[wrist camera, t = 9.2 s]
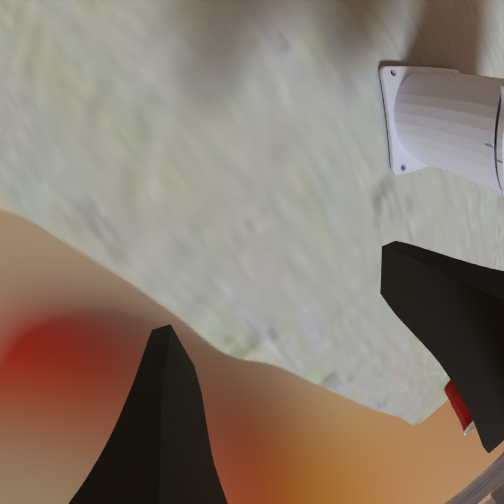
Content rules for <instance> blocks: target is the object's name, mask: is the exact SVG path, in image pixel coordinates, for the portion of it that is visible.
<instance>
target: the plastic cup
mask: <svg viewBox="0 0 504 504" xmlns="http://www.w3.org/2000/svg"><path fill="white" fill-rule="evenodd" d="M444 390H445V393H446V395H447V397H448V398H449V400H450V402H451V405H452V407H453V409H454V410H455V412H456V414H457V416H458V418H459V420H460V422H461V425H462V428H463V431H464V436H465V435H468V434H469V433H471V432H472V431H474V430H475V429H476V426H475V424H474V422H473V419H472V417H471V415H470V413H469V411H468V409H467V407H466V405H465V403H464V401H463V399H462V397H461V396H460V394H459V392H458V391H457V389H456V387H455V386H454V384H453V382H452V381H451V380H450V381H449V383H448V384H447V385H446V387H445V389H444Z"/></svg>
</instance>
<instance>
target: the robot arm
mask: <svg viewBox="0 0 504 504" xmlns="http://www.w3.org/2000/svg"><path fill="white" fill-rule="evenodd" d="M391 71H392V75H391ZM379 72H380V79H381V85H382V91H383V97H384V104H385V112H386V120H387V129H388V139H389V151H390V164H391V172H392V173H393V174H395V175H401V174H404V173H408V172H412V171H415V170H419V169H423V168H426V167H430V166H432V167H435V168H437V169H440V170H443V171H445V172H448V173H451V174H453V175H456V176H458V177H461V178H463V179H466V180H468V181H470V182H473V183H475V184H477V185H480V186H482V187H484V188H486V189H489V190H491V191H493V192H495V193H497V194H499V195H502V196H504V79H502V78H496V77H488V76H480V75H471V74H460V72H459V71H458V70H455V69H445V68H433V67H416V66H382V67H381V68H380V70H379ZM402 165H403V166H402ZM401 166H402V169H401ZM380 293H381V295H382V296H383V298H384V299H385V300H386V302H387V303H388V305H389V306H390V307H391V309H392V310H393V312H394V313H395V314H396V315H397V316H398V318H399V319H400V320H401V321H402V322H403V323H404V324H405V325H406V326H407V327H408V328H409V329H410V330H411V332H412V333H413V334H414V335H415V336H416V337H417V338H418V339H419V340H420V341H421V342H422V343H423V344H424V346H425V347H426V348H427V349H428V350H429V351H430V352H431V353H432V354H433V356H434V357H435V358H436V359H437V360H438V362H439V363H440V364H441V366H442V367H443V369H444V370H445V372H446V373H447V375H448V376H449V378H450V379H451V381H452V382H453V384H454V386H455V387H456V389H457V391H458V392H459V394H460V396H461V397H462V399H463V401H464V403H465V405H466V407H467V409H468V411H469V413H470V415H471V417H472V419H473V422H474V424H475V426H476V429H477V431H478V434H479V436H480V439H481V442H482V445H483V447H484V448H485V450H486V451H487V452H488V453H490V452H491V451H492V450H493V449H494V448H496V447H497V446H498V445H499V444H500V443H501V442H502V441H503V440H504V271H500V270H495V269H491V268H487V267H483V266H479V265H476V264H472V263H469V262H465V261H462V260H458V259H455V258H452V257H449V256H446V255H443V254H440V253H436V252H433V251H430V250H427V249H424V248H421V247H417V246H414V245H410V244H407V243H403V242H398V241H394V242H391V243H389V244H387V245H384V246H382V267H381V291H380ZM493 489H494V490H493ZM492 490H493V491H492ZM491 491H492V492H491ZM490 492H491V496H492V497H491V498H490V499H489V500H488V501H486V502H485V503H484V504H504V453H503V454H502V455H501V456H500V457H499V458H498V459H497V460H496V461H495V462H493V464H491V466H489V467H488V468H487V469H486V470H485V471H484V472H483V473H482V474H481V475H479V476H478V477H477V478H476V479H475V480H474V481H473V482H471V483H470V484H469V485H468V486H467V487H465V488H464V489H463V490H462V491H461V492H459V493H458V494H457V495H455V496H454V497H453V498H452V499H450V500H449V501H448V502H446V503H445V504H478V503H479V502H480V501H481V500H482V499H483V498H485V496H487V495H488V494H489V493H490ZM69 504H228V503H227V501H226V498H225V495H224V492H223V489H222V487H221V484H220V481H219V478H218V475H217V471H216V468H215V465H214V461H213V457H212V453H211V447H210V442H209V436H208V430H207V424H206V418H205V412H204V406H203V399H202V393H201V390H200V386H199V382H198V378H197V375H196V371H195V367H194V365H193V363H192V362H191V360H190V358H189V356H188V355H187V353H186V351H185V349H184V348H183V346H182V344H181V342H180V341H179V339H178V337H177V335H176V333H175V332H174V330H173V328H172V326H171V325H167V326H163V327H160V328H157V329H154V330H152V332H151V334H150V337H149V339H148V342H147V345H146V348H145V351H144V354H143V357H142V359H141V362H140V365H139V368H138V371H137V373H136V376H135V379H134V381H133V385H132V387H131V390H130V392H129V395H128V397H127V400H126V402H125V404H124V407H123V409H122V412H121V414H120V417H119V419H118V421H117V423H116V426H115V428H114V430H113V432H112V434H111V436H110V438H109V440H108V442H107V444H106V446H105V448H104V449H103V451H102V453H101V455H100V457H99V458H98V460H97V462H96V463H95V465H94V467H93V468H92V470H91V472H90V473H89V475H88V477H87V478H86V480H85V481H84V483H83V484H82V486H81V487H80V489H79V490H78V492H77V493H76V494H75V496H74V497H73V498H72V500H71V501H70V502H69Z"/></svg>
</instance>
